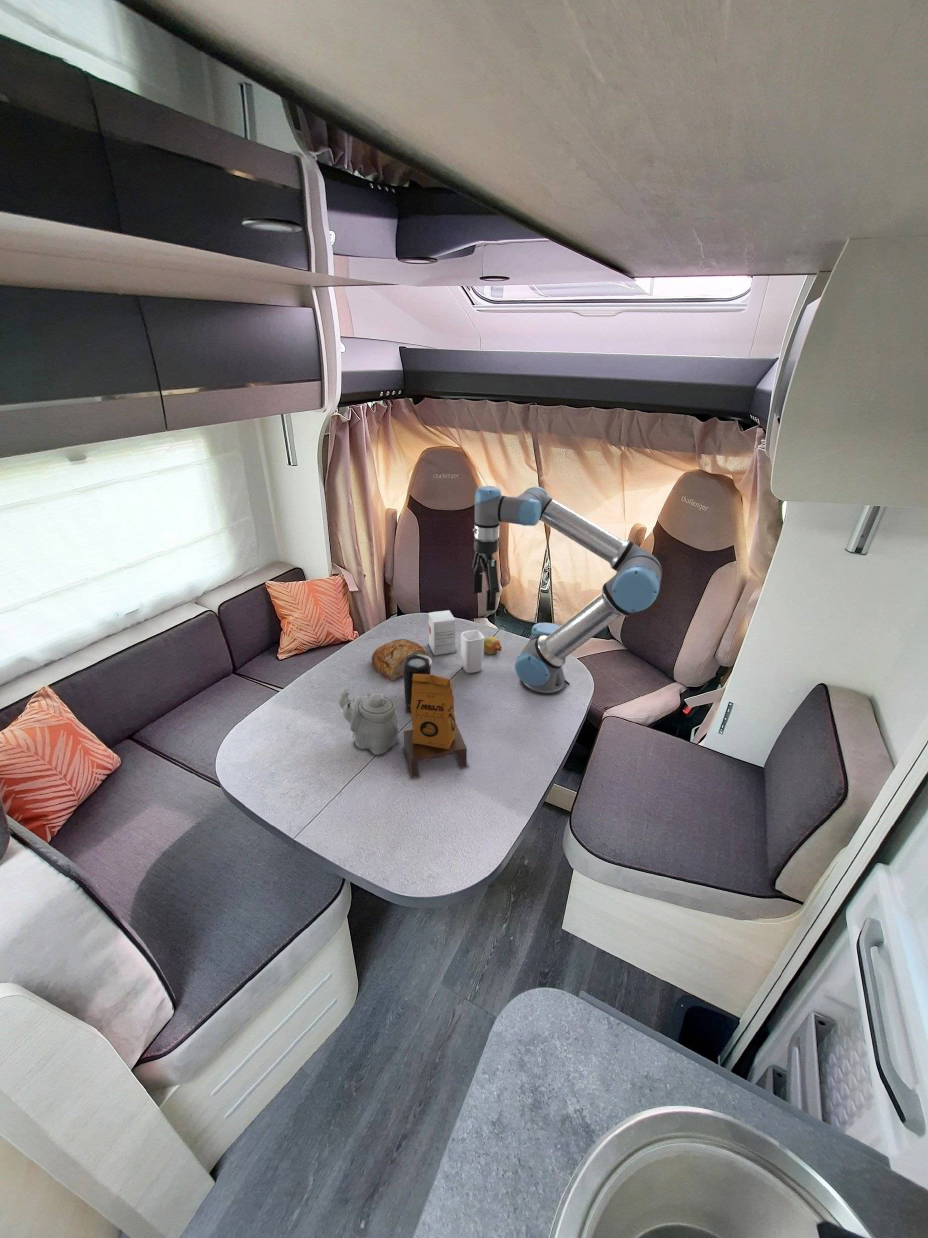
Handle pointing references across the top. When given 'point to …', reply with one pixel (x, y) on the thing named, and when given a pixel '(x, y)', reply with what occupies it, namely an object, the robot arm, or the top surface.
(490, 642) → the fruit
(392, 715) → the teapot
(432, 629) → the rectangular carton
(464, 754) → the small table
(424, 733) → the coffee package
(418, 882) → the top surface
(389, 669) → the bread
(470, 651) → the cup
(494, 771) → the top surface
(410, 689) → the portable speaker
